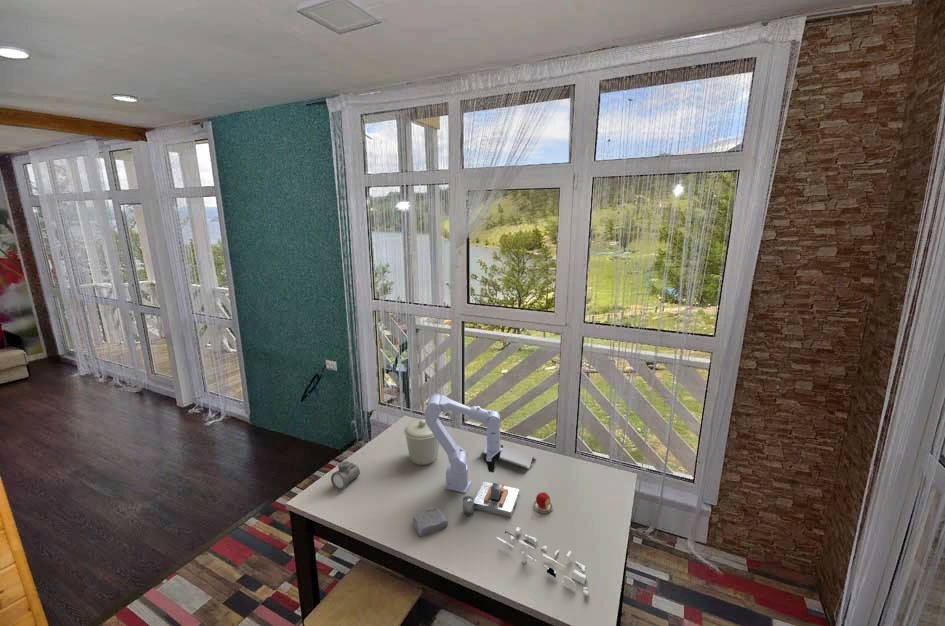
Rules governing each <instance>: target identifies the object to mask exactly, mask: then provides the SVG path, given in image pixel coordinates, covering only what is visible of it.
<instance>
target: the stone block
mask: <svg viewBox="0 0 945 626" xmlns="http://www.w3.org/2000/svg"><path fill="white" fill-rule="evenodd" d="M412 523H413V528H414V529H415V531H417V534H418V536H420V537H424V536H427V535H429V534H431V533H434V532H436V531H439V530H442V529H444V528H446V527H447V525H448V519H447V518H446V516H445V515H444V513H443V512H442V510H441V509H440V508H437V507H434V508H431V509H428V510H425V511H424V512H423V511H422V512H420V513H417V514H415V515H413V519H412Z"/></svg>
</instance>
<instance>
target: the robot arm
mask: <svg viewBox="0 0 945 626" xmlns="http://www.w3.org/2000/svg"><path fill="white" fill-rule="evenodd" d="M448 412H454V413H458V414H462V415H465V416H468V418H469V419H470V420H471V421H475V422H478V423H480V424H484V425H486V443H487V448H486V449H487V455H484V456H483V461H484V463H485V465H486V467H487V470H488V472H490V473H494V472H495V468H496V463H498V462H499V461H500V459H499V458H500V453H501V452H502V451H503V446H504V445H502V444H501V427H500V426H501V415H500V413H499V411H497V410H496V409H485V408H481V406H479V405H477V406H476V405H473V406H468V405H466V404H463V403H460V402H458V401H456V400H453V399H451V398H449V397H448V396H446V395H442V394H440V393H432V395H430V397H429V399H428V401H427V405H426V407H425V410H424V416H425V417H424V419H425V422H426V424H427V426H428V427H429V428H430V430H431V431H432V433H433V434H434V436H435V437H436V439H437V440H438V441H439V445H440V446H441V447H442V448H443V450H444V452H445V453H446V455H447V458H448V462H449V465H447V468H446V470H445V489H446V490H451V491H455V492H459V493H464V494H466V492H468V491H467V490H468V489H469V487H470V485H471V484H472V480H469V466H468V464H467V460H468V457H469V456H468V453H467V451H466V450H465V449H464V448H462V447H461V446H460V445H457V443H456V442H455V441H454V439H453V438H452V436H451V435H450V434H449V432H448V431H447V430H446V428H445V426H444V425H443V423H442V422H441V421H440V419H439V416H440V415H441V413H442V415H444V414H446V413H448Z"/></svg>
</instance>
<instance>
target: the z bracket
mask: <svg viewBox="0 0 945 626" xmlns="http://www.w3.org/2000/svg"><path fill="white" fill-rule="evenodd" d="M486 448H487V442H486V443H485V446H484V448H483V450H482V449H478V451H479V453H482V454H484V455H485V456H487V449H486ZM536 459H537V458H536V457H535V456H534V455H531V454H528V453H526V452H522V451H519V450H516V449H512V448H510V447H506V446H505V445H503V451H502V452H501V453H500V458H499V460H501V461H504V462H507V463H510V464H514V465H517V466H519V467H522V468H526V469H527V470H529V469H530V468H531V465H532V461H533V460H536Z"/></svg>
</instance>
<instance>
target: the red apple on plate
mask: <svg viewBox="0 0 945 626" xmlns="http://www.w3.org/2000/svg"><path fill="white" fill-rule="evenodd" d="M535 498H536V499H535V500H534V502H533V504H532V506H533V508H534V510H535V511H536V512H538V513H540V514H541V513H542V514H546V513H550V512H552V510H553V508H554V506H553V502H551V498H550V495H549V494H548V493H547V492H546V491H545V492H543V491H542V492H539V493H537V495H536V497H535Z"/></svg>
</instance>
